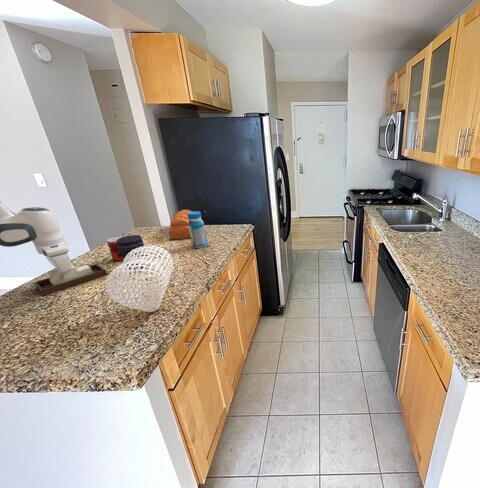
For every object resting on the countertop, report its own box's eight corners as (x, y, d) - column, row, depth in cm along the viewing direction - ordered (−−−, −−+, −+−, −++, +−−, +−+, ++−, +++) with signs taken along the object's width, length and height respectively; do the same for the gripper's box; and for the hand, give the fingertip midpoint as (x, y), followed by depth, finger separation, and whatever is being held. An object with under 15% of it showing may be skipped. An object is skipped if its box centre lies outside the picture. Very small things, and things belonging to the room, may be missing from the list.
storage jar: (144, 260, 133) (136, 233, 128) (153, 265, 128) (145, 237, 122) (122, 268, 126) (112, 239, 120) (130, 273, 121) (120, 244, 115)
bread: (200, 223, 192) (197, 206, 187) (196, 237, 164) (191, 217, 159) (177, 225, 187) (173, 208, 182) (168, 240, 160) (163, 220, 155)
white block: (54, 286, 108) (49, 275, 106) (50, 282, 111) (45, 272, 109) (93, 273, 118) (89, 263, 116) (88, 270, 121) (85, 260, 119)
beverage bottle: (200, 249, 147) (194, 215, 140) (189, 247, 150) (181, 213, 142) (211, 243, 155) (205, 211, 147) (200, 242, 157) (193, 210, 150)
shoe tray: (43, 296, 104) (40, 290, 103) (36, 287, 110) (34, 282, 109) (107, 274, 120) (105, 269, 119) (98, 268, 126) (96, 263, 125)
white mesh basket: (170, 330, 85) (152, 269, 76) (113, 341, 80) (88, 278, 72) (184, 287, 109) (172, 238, 101) (141, 293, 105) (125, 243, 96)
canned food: (119, 255, 139) (112, 236, 135) (134, 254, 140) (128, 235, 136) (109, 261, 132) (102, 241, 128) (126, 261, 133) (119, 241, 129)
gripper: (34, 243, 110) (48, 272, 115) (47, 254, 99) (61, 285, 104) (54, 238, 115) (66, 266, 120) (69, 248, 104) (81, 278, 109)
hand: (64, 275), depth 112 cm, fingers closed on white block, 5 cm apart
